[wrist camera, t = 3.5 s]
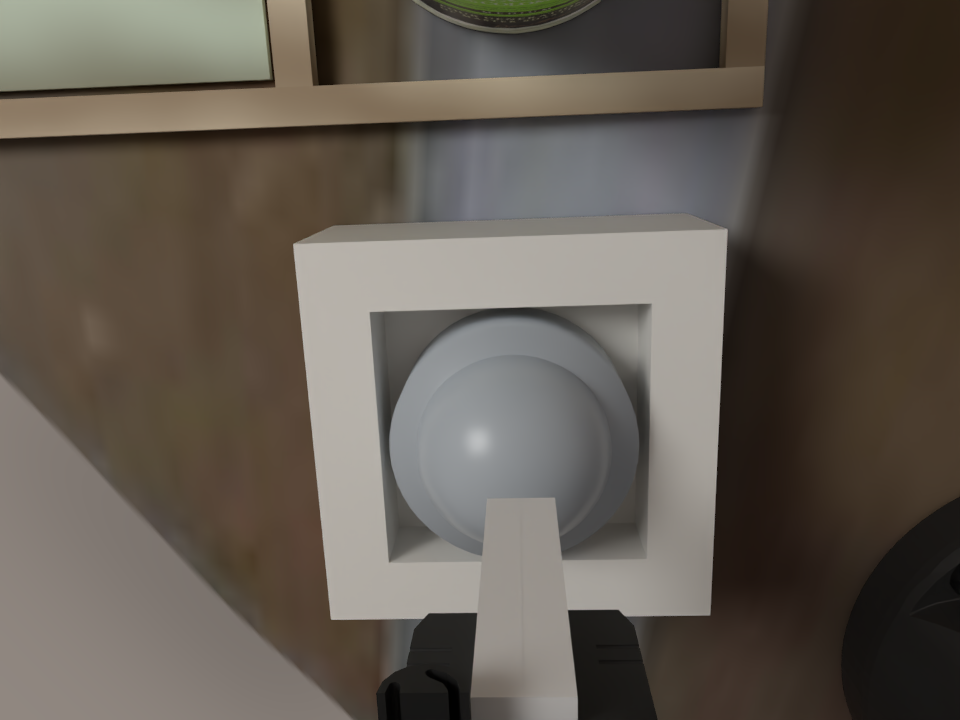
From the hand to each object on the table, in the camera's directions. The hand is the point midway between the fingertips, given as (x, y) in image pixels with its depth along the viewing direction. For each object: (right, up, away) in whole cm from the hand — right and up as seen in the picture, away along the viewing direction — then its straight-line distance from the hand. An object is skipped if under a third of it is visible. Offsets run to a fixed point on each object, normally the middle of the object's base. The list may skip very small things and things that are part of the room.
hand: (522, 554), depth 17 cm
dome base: (0, +3, +11) cm, 11 cm away
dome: (0, +3, +8) cm, 8 cm away
